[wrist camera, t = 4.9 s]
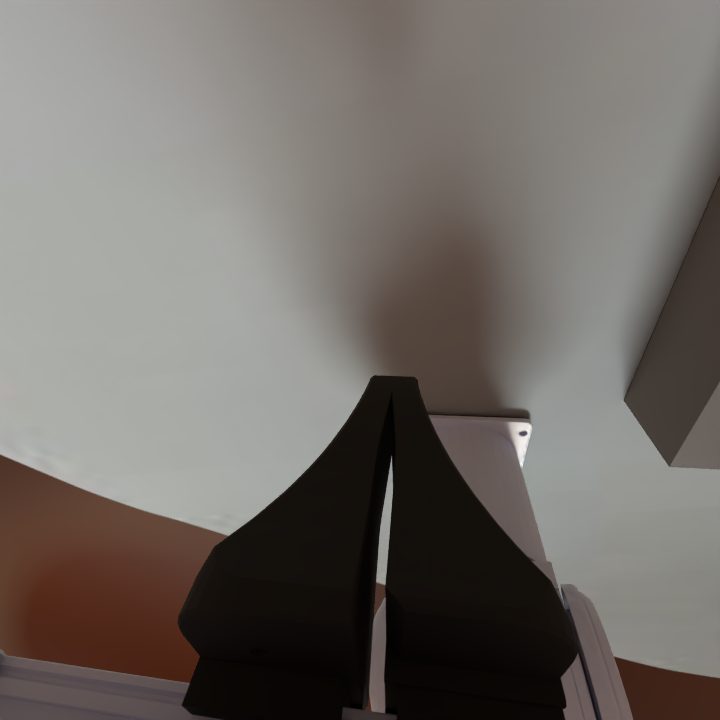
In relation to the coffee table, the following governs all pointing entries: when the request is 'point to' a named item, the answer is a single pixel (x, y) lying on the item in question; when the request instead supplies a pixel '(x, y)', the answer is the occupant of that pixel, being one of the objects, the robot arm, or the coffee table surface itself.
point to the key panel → (686, 359)
